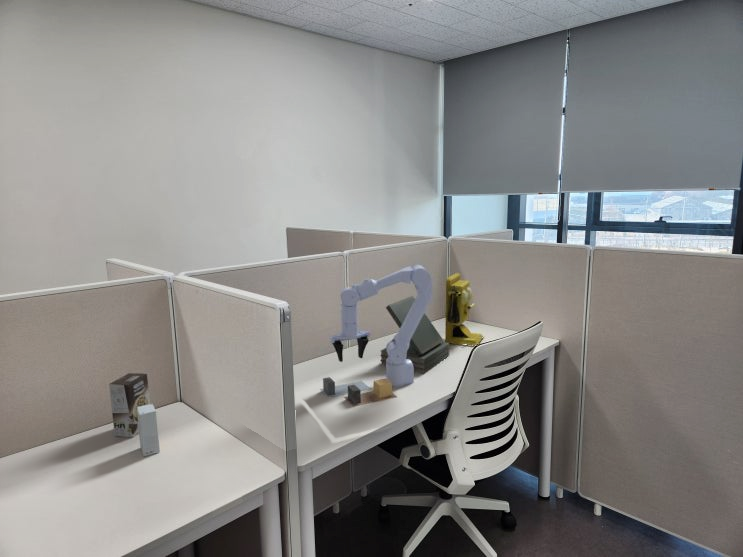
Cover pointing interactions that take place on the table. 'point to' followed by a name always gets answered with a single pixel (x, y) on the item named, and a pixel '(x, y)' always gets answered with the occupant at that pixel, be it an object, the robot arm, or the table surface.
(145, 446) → the skincare box
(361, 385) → the grey strip
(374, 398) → the walnut strip
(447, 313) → the vintage telephone
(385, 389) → the ochre block
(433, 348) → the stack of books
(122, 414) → the coffee box
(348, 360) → the table surface
